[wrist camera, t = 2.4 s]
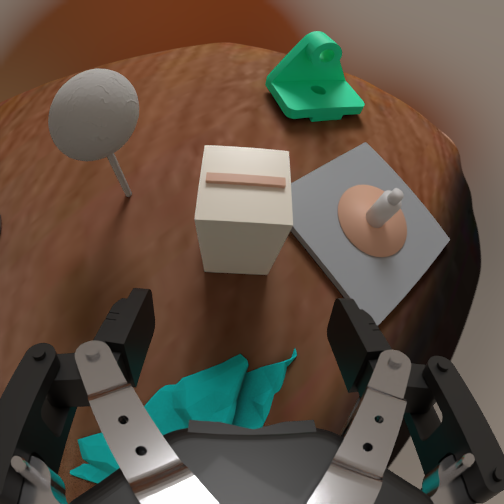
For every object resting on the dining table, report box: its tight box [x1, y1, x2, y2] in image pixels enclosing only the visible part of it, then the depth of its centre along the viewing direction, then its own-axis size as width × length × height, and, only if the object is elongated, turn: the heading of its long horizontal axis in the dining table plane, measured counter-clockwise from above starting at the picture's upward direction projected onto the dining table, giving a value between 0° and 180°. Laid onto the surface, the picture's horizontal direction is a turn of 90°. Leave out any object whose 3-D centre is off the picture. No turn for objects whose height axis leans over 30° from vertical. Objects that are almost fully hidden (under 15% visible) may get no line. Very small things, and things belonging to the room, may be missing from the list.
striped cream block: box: [195, 145, 293, 275], centre depth 22 cm, size 6×6×10 cm
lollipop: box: [48, 69, 139, 197], centre depth 20 cm, size 7×7×15 cm
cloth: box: [70, 348, 297, 483], centre depth 19 cm, size 26×14×2 cm, turn 112°
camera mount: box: [266, 31, 365, 122], centre depth 31 cm, size 12×8×10 cm, turn 109°
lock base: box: [290, 142, 450, 326], centre depth 26 cm, size 16×16×6 cm
